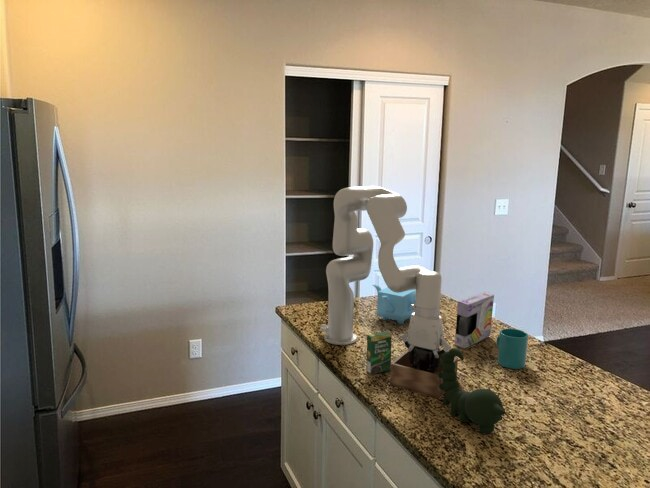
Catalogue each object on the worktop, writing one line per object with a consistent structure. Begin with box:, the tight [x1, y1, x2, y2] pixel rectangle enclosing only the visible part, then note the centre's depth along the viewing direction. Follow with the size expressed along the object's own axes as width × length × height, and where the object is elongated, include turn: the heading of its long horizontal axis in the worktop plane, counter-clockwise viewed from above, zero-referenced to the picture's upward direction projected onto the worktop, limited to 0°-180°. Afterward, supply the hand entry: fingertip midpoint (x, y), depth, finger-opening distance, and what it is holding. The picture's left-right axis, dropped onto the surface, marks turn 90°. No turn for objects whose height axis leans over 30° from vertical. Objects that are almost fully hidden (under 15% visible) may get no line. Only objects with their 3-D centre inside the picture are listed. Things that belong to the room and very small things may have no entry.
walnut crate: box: [389, 349, 459, 399], centre depth 159 cm, size 16×16×7 cm
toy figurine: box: [438, 347, 507, 435], centre depth 136 cm, size 9×19×25 cm
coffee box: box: [366, 330, 392, 375], centre depth 166 cm, size 8×3×13 cm, turn 115°
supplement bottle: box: [413, 346, 435, 374], centre depth 159 cm, size 7×7×12 cm
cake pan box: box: [454, 291, 495, 349], centre depth 192 cm, size 19×5×18 cm, turn 131°
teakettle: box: [372, 284, 416, 325], centre depth 216 cm, size 19×19×15 cm
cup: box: [496, 328, 529, 370], centre depth 174 cm, size 9×12×11 cm
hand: (424, 364), depth 159 cm, fingers closed on supplement bottle, 6 cm apart
